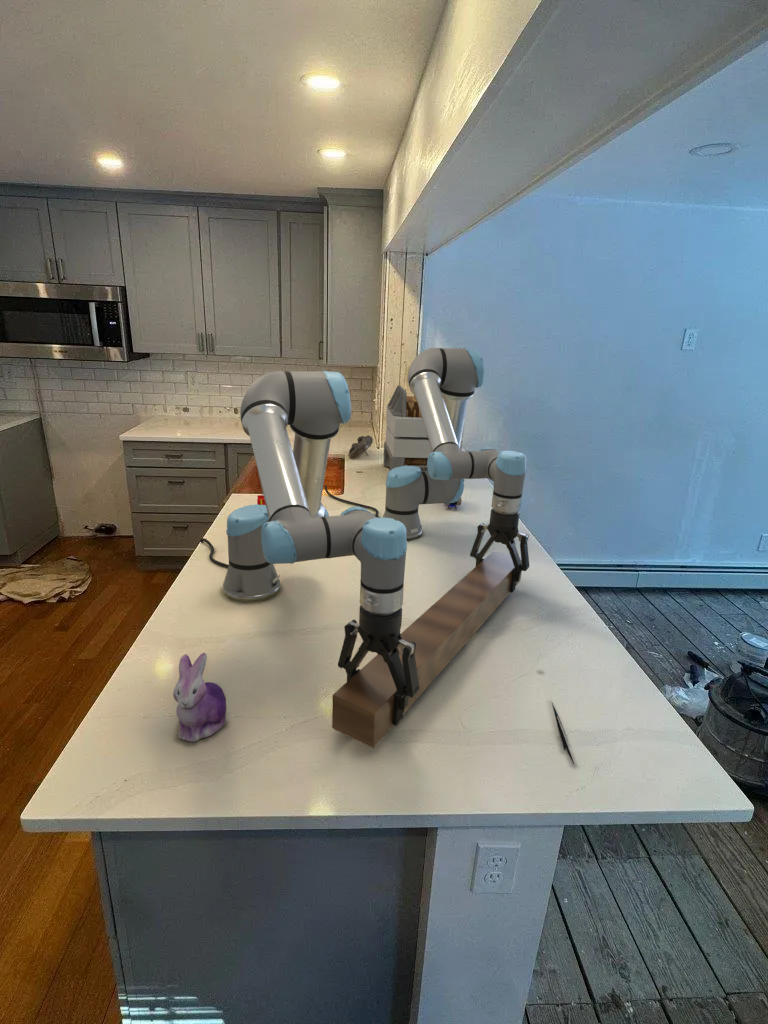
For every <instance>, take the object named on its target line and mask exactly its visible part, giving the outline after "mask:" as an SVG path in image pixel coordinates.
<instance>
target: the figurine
mask: <svg viewBox="0 0 768 1024" xmlns="http://www.w3.org/2000/svg"><path fill="white" fill-rule="evenodd" d="M207 660H208V655H207V653H206V652H201V653H200V654H199V656H198V657H197V658H196V659H195V661H194V662H193V663H192V660H191V658H190V656H189V655H188V654H187V653H185V654H183V655H182V656H181V657H180V660H179V664H178V674H179V675H178V677H179V678H178V680H177V682H176V684H175V686H174V688H173V692H172V693H173V694H172V696H173V699H174V701H176V702H177V706H176V711H175V712H176V718H177V720H178V722H179V726H180V728H179V731H178V732H179V733H178V736H179V739H180V740H183V741H187V742H191V743H192V742H198V741H199V740H201V739H204V738H206V739H207V738H209V737H211V736H212V735H214V734H215V733H217V732H218V731H219V730H220V729H221V728H223V726H225V722H226V713H227V698H226V695H225V692H224V690H223V688H222V687H221V686H220V685H219V684H217V683H215V682H213V681H212V682H211V681H207V682H205V680H204V678H203V676H204V672H205V668H206V664H207Z"/></svg>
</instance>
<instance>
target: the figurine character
mask: <svg viewBox="0 0 768 1024" xmlns="http://www.w3.org/2000/svg"><path fill="white" fill-rule="evenodd" d="M461 505H462V496H461V497H460V499H459V500H458V501H456V502H454V503H448V504H445V506H447V509H448V510H451V508H453V507H454V510H457V509H458V507H459V506H461ZM450 507H451V508H450Z"/></svg>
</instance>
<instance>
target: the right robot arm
mask: <svg viewBox="0 0 768 1024" xmlns="http://www.w3.org/2000/svg"><path fill="white" fill-rule="evenodd" d="M485 371H486V370H485V363H484V359H483V356H482V355H481V353H480V352H479V350H477V349H473V348H472V349H471V348H465V347H463V348H461V347H460V348H459V347H458V348H457V347H455V348H453V347H450V348H449V347H445V348H443V347H429V348H427V349H424V350H423V351H421V352H419V353H418V355H416V356H415V357H414V359H413V360H412V362H411V363H410V366H409V369H408V373H407V383H408V388H409V391H410V392H411V394H413V395H414V396H415V397H416V399H417V403H418V406H419V409H420V413H421V416H422V419H423V423H424V426H425V430H426V433H427V436H428V440H429V443H430V446H431V450H432V453H430V454H429V456H428V460H427V466H426V470H422V469H421V467H420V466H407V465H404V466H401V467H397V468H394V469H392V470H390V469H389V470H388V472H387V475H386V480H385V481H386V482H385V504H384V505H385V507H384V508H385V509H384V513H383V515H382V517H381V516H380V515H379V510H378V509H377V508H376V507H373V506H371V505H366V504H362V503H358V502H354V501H351V500H347V499H343V498H340V497H338V496H335V495H333V494H331V493H330V491H329V490H328V487H327V485H324V491H325V493H326V494H327V495H328V496H329V497H331V498H333V499H334V500H337V501H339V502H343V503H345V504H351V505H354V506H356V507H362V508H365V509H370V510H372V511H374V512H375V514H374V515H375V516H376V517H377V518H392V519H394V520H395V521H400V522H402V523H403V524H404V525H405V527H406V540H407V541H410V540H415V539H418V538H420V537H421V536H422V535H423V525H422V524H421V518H420V515H419V507H420V505H435V504H436V505H439V504H443V505H446V504H448V503H454V502H456V501H458V500H459V499H460V497H461V498H462V496H463V493H464V490H465V480H479V479H482V480H483V479H488V480H490V481H492V482H493V490H492V499H491V510H490V515H489V516H490V517H489V523H488V524H485V523H484V522H481V523H480V524H479V525H477V526H476V528H477V532H476V536H475V539H474V542H473V544H472V548H471V550H470V553H469V555H470V557H471V558H474V559H475V567H476V566H477V565H478V564H479V563H480V562H482V561H483V560H484V559H485V558H483V557H484V556H485V555H486V554H487V552H488V551H489V549H490V548H491V547H492V546H493V544H494V543H497V544H498V543H499V544H502V545H505V546H506V549H508V552H509V554H510V555H511V558H512V561H513V564H514V567H515V569H514V570H513V571H512V578H511V585H510V594H513V593H514V592H515V590H516V589H517V586H516V582H518V581H519V580H520V579H521V578H522V573H521V572H526V571H527V570H529V568H530V555H529V546H528V542H529V541H528V540H529V537H530V535H529V533H522V532H520V531H519V521H520V515H521V514H520V511H521V508H522V507H521V506H522V497H523V491H524V487H525V486H524V485H525V479H526V472H527V456H526V455H525V454H524V453H523V452H519V451H515V450H501V451H499V450H498V449H497V448H492V447H483V448H481V449H479V450H474V451H473V450H471V451H469V450H467V451H466V450H465V451H463V450H462V451H460V444H461V440H462V439H463V438H462V433H463V434H464V432H463V427H464V428H465V421H466V415H467V408H468V403H469V399H471V398H472V397H473V396H474V395H475V390H476V389H478V388H481V387H482V386H483V383H484V382H485V375H486V374H485V373H486V372H485ZM487 531H488V533H489V538H488V539H487V541H486V543H485V544H484V546H483V547H482V548H481V550H480V551H479V549H480V547H481V545H482V541H483V538H484V536H485V533H486V532H487ZM516 538H518V542H519V549H520V554H519V552H518V549H517V546H516V541H515V539H516ZM520 557H521V560H520ZM521 561H522V563H521ZM475 567H474V568H475ZM521 580H522V579H521ZM521 580H520V581H521Z"/></svg>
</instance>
